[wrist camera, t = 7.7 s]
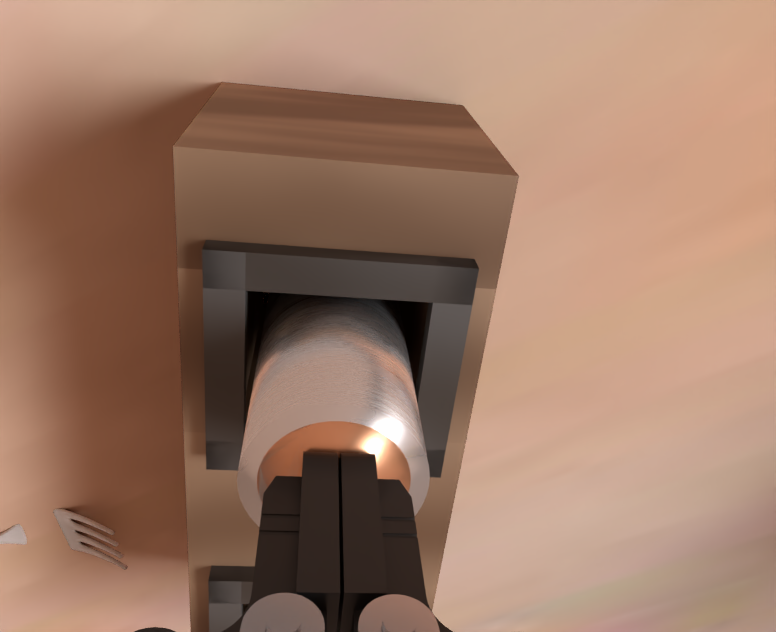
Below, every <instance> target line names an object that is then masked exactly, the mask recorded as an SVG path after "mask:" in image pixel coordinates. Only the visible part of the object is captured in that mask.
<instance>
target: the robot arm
mask: <svg viewBox="0 0 776 632" xmlns="http://www.w3.org/2000/svg"><path fill="white" fill-rule="evenodd" d="M135 632H175V631H173V630H170V629H166V628H158V627H153V628H145V629H141V630H137V631H135ZM221 632H453V631H451V630H449V629H448V628H447V627H445V626H444V625H443V624H442V623H441V622H440V621H439V620H438V619H437V618H436V617H435V616H434V614H433V612H432V611H431V609H430V607H429V604H428V601H427V597H426V591H425V584H424V577H423V570H422V563H421V557H420V550H419V543H418V538H417V529H416V523H415V516H414V509H413V502H412V497H411V496H410V494H409V493H408V491H407V490H406V489H405V487H404V486H403V484H402V483H401V481H400V480H396V479H378V477H377V466H376V456H375V454H367V453H340V459H339V470H338V453H335V452H309V451H303V464H302V477H300V476H276V477H275V478H274V479H273V481H272V482H271V484H270V485H269V486H268V488H267V489H266V491H265V492H264V494H263V502H262V510H261V518H260V527H259V535H258V543H257V552H256V560H255V568H254V576H253V585H252V593H251V598H250V602H249V605H248V607H247V609H246V610H245V612H244V614H243V615H242V616H241V617H240V618H239V619H238V620H237V621H236V622H235V623H234V624H233V625H231V626H230V627H228V628H227V629H225V630H223V631H221Z"/></svg>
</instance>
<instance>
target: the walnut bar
mask: <svg viewBox="0 0 776 632" xmlns="http://www.w3.org/2000/svg"><path fill="white" fill-rule="evenodd" d="M173 163H174V190H175V217H176V244H177V271H178V298H179V325H180V352H181V379H182V406H183V433H184V460H185V487H186V514H187V540H188V567H189V594H190V621H191V632H221V631H223V630H225V629H227V628H228V627H230V626H231V625H233V624H234V623H235V622H236V621H237V620H238V619H239V618H240V617H241V616H242V615H243V614H244V612H245V610H246V609H247V607H248V605H249V602H250V598H251V593H252V585H253V576H254V568H255V560H256V552H257V543H258V535H259V526H258V525H257V524H256V523H255V522H254V521H253V520H252V519H251V518H250V516H249V515H248V513H247V512H246V510H245V508H244V506H243V504H242V502H241V500H240V496H239V492H238V485H237V475H238V467H239V462H240V456H241V450H242V445H243V439H244V433H245V428H246V422H247V416H248V411H249V405H250V399H251V394H252V388H253V382H254V377H255V371H256V365H257V360H258V354H259V348H260V343H261V337H262V331H263V326H264V320H265V314H266V309H267V304H265V303H263V292H274V293H289V294H305V295H321V296H336V297H352V298H368V299H383V300H398V302H399V307H400V313H401V318H402V323H403V329H404V334H405V340H406V345H407V351H408V356H409V361H410V367H411V372H412V378H413V383H414V388H415V394H416V399H417V405H418V410H419V416H420V421H421V426H422V432H423V437H424V443H425V448H426V453H427V459H428V464H429V473H430V480H429V488H428V492H427V496H426V498H425V500H424V503H423V505H422V506H421V508H420V510H419V511H418V513H417V514H416V515H415V523H416V529H417V538H418V543H419V550H420V557H421V563H422V570H423V577H424V584H425V591H426V597H427V601H428V604H429V607H430V609H431V611H432V608H433V603H434V598H435V593H436V588H437V583H438V578H439V573H440V568H441V563H442V558H443V553H444V548H445V543H446V538H447V533H448V528H449V523H450V518H451V513H452V508H453V503H454V498H455V493H456V488H457V483H458V478H459V473H460V468H461V463H462V458H463V453H464V448H465V443H466V438H467V433H468V428H469V423H470V418H471V413H472V408H473V403H474V398H475V393H476V388H477V383H478V378H479V373H480V368H481V363H482V358H483V353H484V348H485V343H486V338H487V333H488V328H489V323H490V318H491V313H492V308H493V303H494V298H495V293H496V288H497V283H498V278H499V273H500V268H501V263H502V258H503V253H504V248H505V243H506V238H507V233H508V228H509V223H510V218H511V213H512V208H513V203H514V198H515V193H516V188H517V183H518V178H519V176H518V174H517V173H516V172H515V171H514V169H513V168H512V167H511V165H510V164H509V163H508V162H507V160H506V159H505V158H504V157H503V155H502V154H501V153H500V152H499V150H498V149H497V148H496V147H495V145H494V144H493V143H492V141H491V140H490V139H489V138H488V136H487V135H486V134H485V133H484V131H483V130H482V129H481V128H480V126H479V125H478V124H477V123H476V121H475V120H474V119H473V117H472V116H471V115H470V114H469V112H468V111H467V110H466V109H465V107H464V106H462V105H452V104H442V103H431V102H421V101H411V100H400V99H390V98H380V97H369V96H359V95H349V94H338V93H328V92H318V91H307V90H297V89H287V88H276V87H266V86H256V85H245V84H235V83H225V82H222V83H221V84H220V86H219V87H218V88H217V89H216V91H215V92H214V93H213V95H212V96H211V97H210V99H209V100H208V101H207V102H206V104H205V105H204V106H203V108H202V109H201V110H200V112H199V113H198V114H197V115H196V117H195V118H194V119H193V121H192V122H191V123H190V125H189V126H188V127H187V129H186V130H185V131H184V132H183V134H182V135H181V136H180V138H179V139H178V140H177V142H176V143H175V144H174V145H173Z"/></svg>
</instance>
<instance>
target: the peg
mask: <svg viewBox="0 0 776 632" xmlns="http://www.w3.org/2000/svg"><path fill="white" fill-rule="evenodd" d="M303 451H309V452H335V453H338V470H339V459H340V453H367V454H375V456H376V466H377V477H378V479H396V480H400V481H401V483H402V484H403V486H404V487H405V489H406V490H407V491H408V493H409V494H410V496H411V497H412V502H413V509H414V516H415V515H416V514H417V513H418V511H419V510H420V508H421V506H422V505H423V503H424V500H425V498H426V496H427V492H428V488H429V480H430V473H429V464H428V459H427V453H426V448H425V443H424V437H423V432H422V426H421V421H420V416H419V410H418V405H417V399H416V394H415V388H414V383H413V378H412V372H411V367H410V361H409V356H408V351H407V345H406V340H405V334H404V329H403V323H402V318H401V313H400V307H399V302H398V300H383V299H368V298H352V297H336V296H321V295H305V294H289V293H274V292H270V294H269V298H268V303H267V309H266V314H265V320H264V326H263V331H262V337H261V343H260V348H259V354H258V360H257V365H256V371H255V377H254V382H253V388H252V394H251V399H250V405H249V411H248V416H247V422H246V428H245V433H244V439H243V445H242V450H241V456H240V462H239V467H238V475H237V485H238V492H239V496H240V500H241V502H242V504H243V506H244V508H245V510H246V512H247V513H248V515H249V516H250V518H251V519H252V520H253V521H254V522H255V523H256V524H257V525H258V526H259V527H260V518H261V510H262V502H263V494H264V492H265V491H266V489H267V488H268V486H269V485H270V484H271V482H272V481H273V479H274V478H275V477H276V476H300V477H302V464H303Z"/></svg>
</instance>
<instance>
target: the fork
mask: <svg viewBox="0 0 776 632" xmlns="http://www.w3.org/2000/svg"><path fill="white" fill-rule="evenodd" d="M53 513H54V515H55V517H56V519H57V521H58V523H59V526H60V528H61V530H62V532H63V534H64V536H65V538H66V540H67V542H68V544H69V546H70V548H71V549H72V550H77V551H81V552H85V553H89V554H92V555H94V556H97V557H99V558H102V559H104V560H106V561H109V562H111V563H113V564H115V565H117V566H119V567H121V568H122V569H124V570H125V569H127V565H125V564H123V563H121V562H120V561H118V560H116V559H114V558H112V557H110V556H108V555H106V554H104V553H102V552H99V551H97V550H95V549H93V548H90V547H88V546H85V545H83V544H82V543H80V542H84V543H87V544H90V545H93V546H95V547H98V548H100V549H102V550H105V551H107V552H109V553H111V554H113V555H115V556H117V557H119V558H122V557H123V554H121V553H119V552H118V551H116V550H114V549H112V548H110V547H108V546H106V545H104V544H102V543H100V542H97V541H95V540H93V539H91V538H88V537H86V536H84V535H81V534H79V533H77V532H76V531H80V532H84V533H86V534H89V535H92V536H94V537H96V538H99V539H101V540H103V541H106V542H108V543H110V544H112V545H113V546H115V547H117V546H118V545H119V543H118V542H116V541H114V540H112V539H110V538H108V537H106V536H104V535H102V534H100V533H98V532H96V531H94V530H92V529H89V528H87V527H85V526H82V525H80V524H78V523H75V522H73V521H72V520H71V519H74V520H78V521H81V522H83V523H86V524H88V525H91V526H93V527H96V528H98V529H100V530H103V531H105V532H107V533H109V534H110V535H113V534H114V533H115V532H114V531H113V530H111V529H109V528H107V527H105V526H103V525H101V524H99V523H97V522H95V521H93V520H91V519H89V518H86V517H84V516H82V515H79V514H76V513H74V512H71V511H68V510H65V509H55V510H54V511H53ZM75 530H76V531H75ZM0 544H24V545H25V544H27V539H26V535H25V532H24V530H23V528H22V527H21V525H20V524H17V525H14V526H12V527H11V528H9V529H8V530H6V531H4V532H2V533H0Z"/></svg>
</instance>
